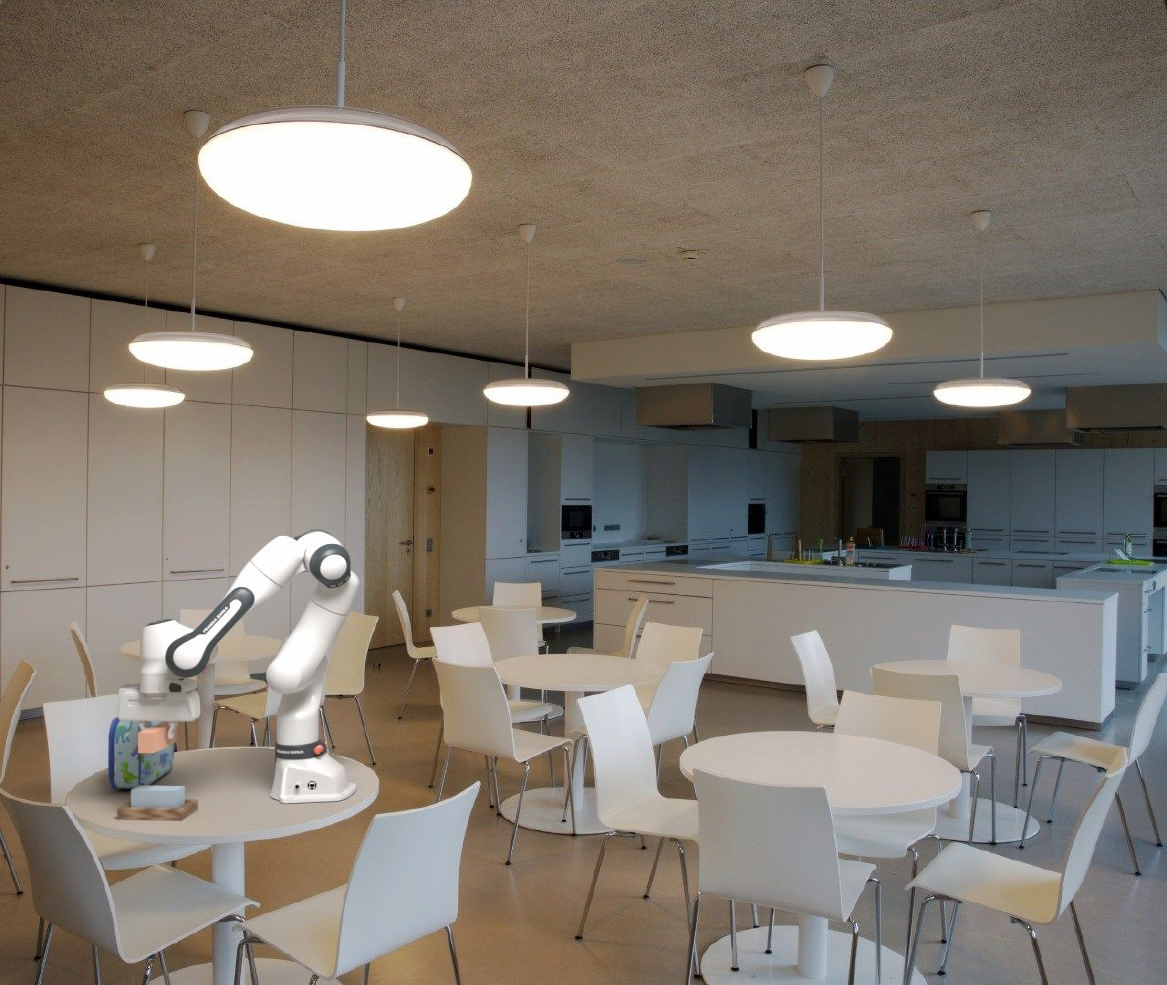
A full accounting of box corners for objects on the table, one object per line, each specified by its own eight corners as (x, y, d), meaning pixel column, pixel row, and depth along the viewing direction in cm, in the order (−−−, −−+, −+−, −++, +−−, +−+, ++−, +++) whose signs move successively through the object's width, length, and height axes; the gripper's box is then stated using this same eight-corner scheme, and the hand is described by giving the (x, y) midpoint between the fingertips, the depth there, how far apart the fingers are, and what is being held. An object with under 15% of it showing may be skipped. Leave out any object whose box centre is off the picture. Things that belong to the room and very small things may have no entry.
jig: (197, 809, 239) (197, 799, 239) (181, 820, 231) (181, 809, 231) (135, 808, 240) (135, 798, 240) (117, 819, 232) (117, 808, 232)
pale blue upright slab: (184, 809, 237) (184, 786, 237) (176, 814, 233) (176, 790, 233) (139, 808, 238) (139, 785, 238) (130, 813, 234) (131, 789, 234)
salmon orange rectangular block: (153, 753, 230) (153, 732, 230) (138, 753, 230) (138, 732, 230) (177, 741, 242) (177, 721, 242) (162, 741, 242) (162, 721, 242)
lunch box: (142, 769, 278) (142, 698, 279) (179, 768, 279) (179, 698, 279) (102, 795, 252) (102, 717, 253) (142, 794, 253) (143, 716, 253)
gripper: (112, 685, 234) (111, 741, 233) (191, 686, 233) (191, 741, 232) (125, 681, 240) (125, 735, 240) (203, 681, 239) (203, 735, 239)
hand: (158, 738), depth 236 cm, fingers closed on salmon orange rectangular block, 4 cm apart
